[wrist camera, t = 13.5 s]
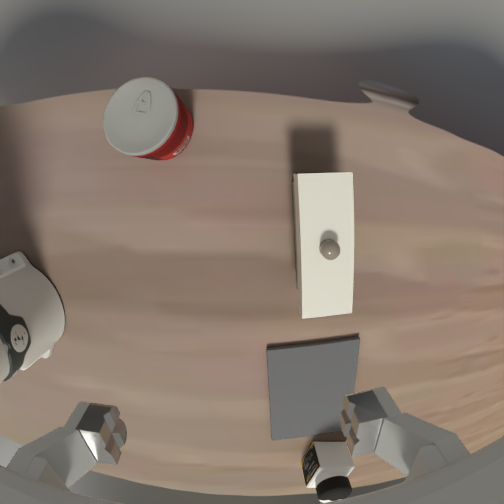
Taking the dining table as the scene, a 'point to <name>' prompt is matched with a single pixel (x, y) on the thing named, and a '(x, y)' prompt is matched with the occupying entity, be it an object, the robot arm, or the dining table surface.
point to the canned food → (147, 120)
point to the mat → (310, 386)
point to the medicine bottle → (328, 470)
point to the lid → (324, 243)
